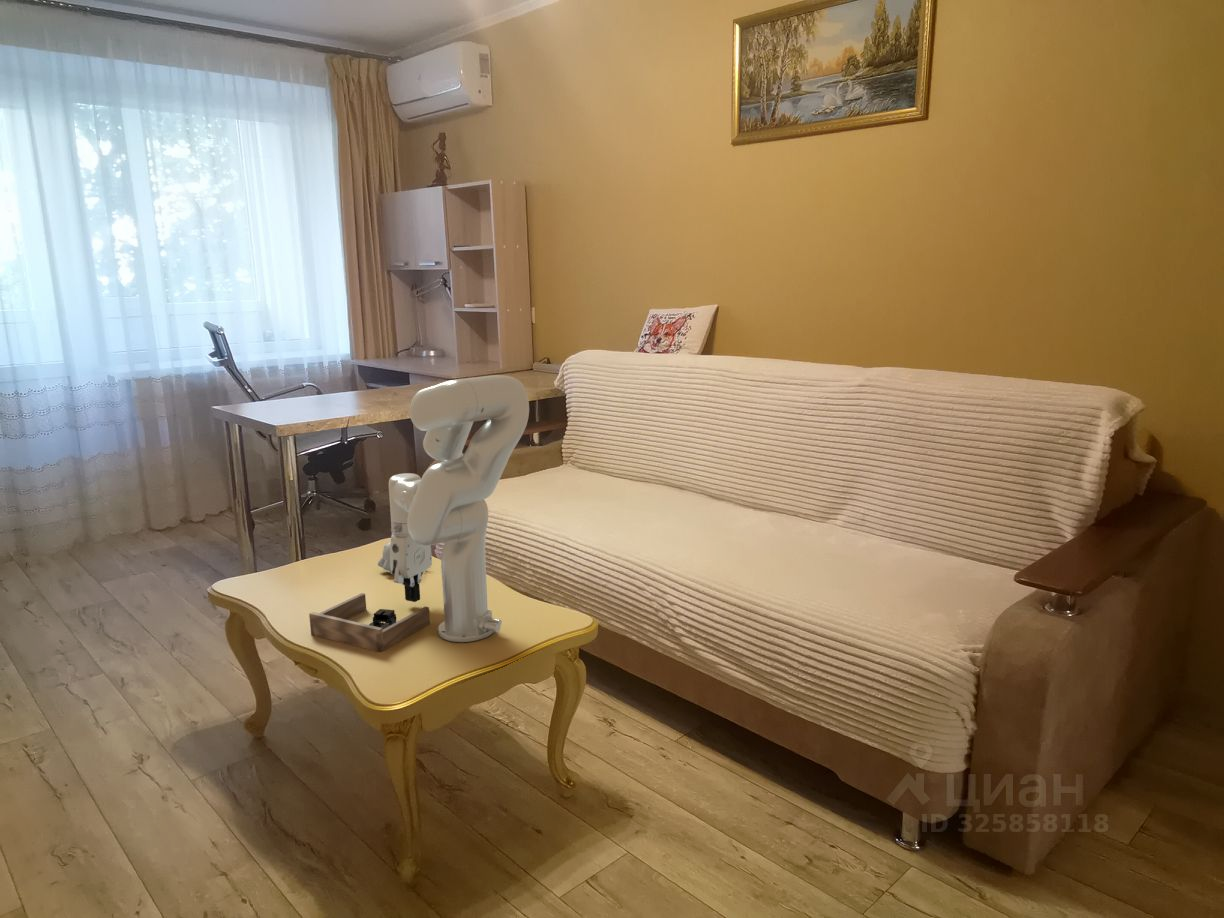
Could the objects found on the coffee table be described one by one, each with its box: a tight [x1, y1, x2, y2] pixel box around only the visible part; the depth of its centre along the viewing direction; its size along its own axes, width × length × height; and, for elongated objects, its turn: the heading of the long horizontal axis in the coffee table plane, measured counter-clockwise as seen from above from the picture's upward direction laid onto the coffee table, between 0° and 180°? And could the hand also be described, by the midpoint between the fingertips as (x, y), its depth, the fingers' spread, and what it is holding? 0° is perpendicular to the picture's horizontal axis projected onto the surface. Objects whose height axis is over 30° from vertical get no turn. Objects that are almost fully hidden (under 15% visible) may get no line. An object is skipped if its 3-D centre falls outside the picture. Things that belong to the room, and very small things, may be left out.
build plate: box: [368, 608, 397, 630], centre depth 180 cm, size 12×7×5 cm, turn 78°
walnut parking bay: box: [308, 592, 431, 653], centre depth 179 cm, size 20×16×5 cm
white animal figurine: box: [377, 540, 391, 572], centre depth 217 cm, size 7×12×8 cm, turn 124°
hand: (412, 599), depth 192 cm, fingers closed
